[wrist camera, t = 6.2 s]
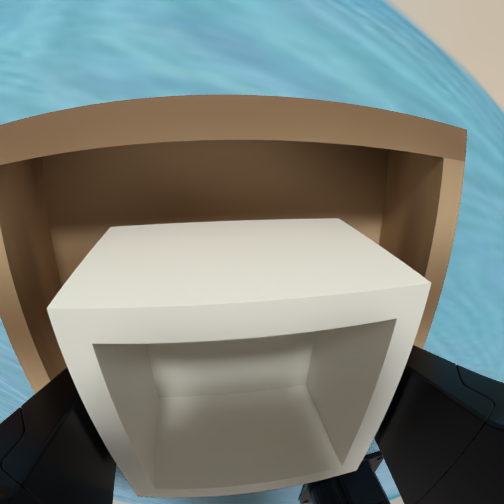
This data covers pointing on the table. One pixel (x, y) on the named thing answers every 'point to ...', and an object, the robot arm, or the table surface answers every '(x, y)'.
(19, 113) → the table surface
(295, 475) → the cream crate
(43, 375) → the walnut crate
